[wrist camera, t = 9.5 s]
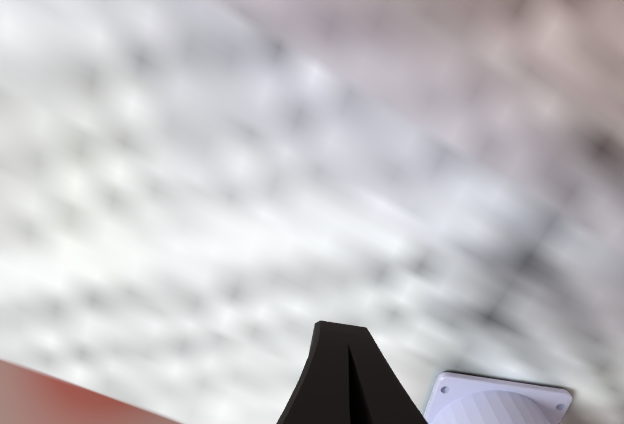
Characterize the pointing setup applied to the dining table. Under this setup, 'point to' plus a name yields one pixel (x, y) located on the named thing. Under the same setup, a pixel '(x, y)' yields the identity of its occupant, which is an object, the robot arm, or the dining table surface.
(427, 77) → the dining table surface
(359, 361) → the robot arm
